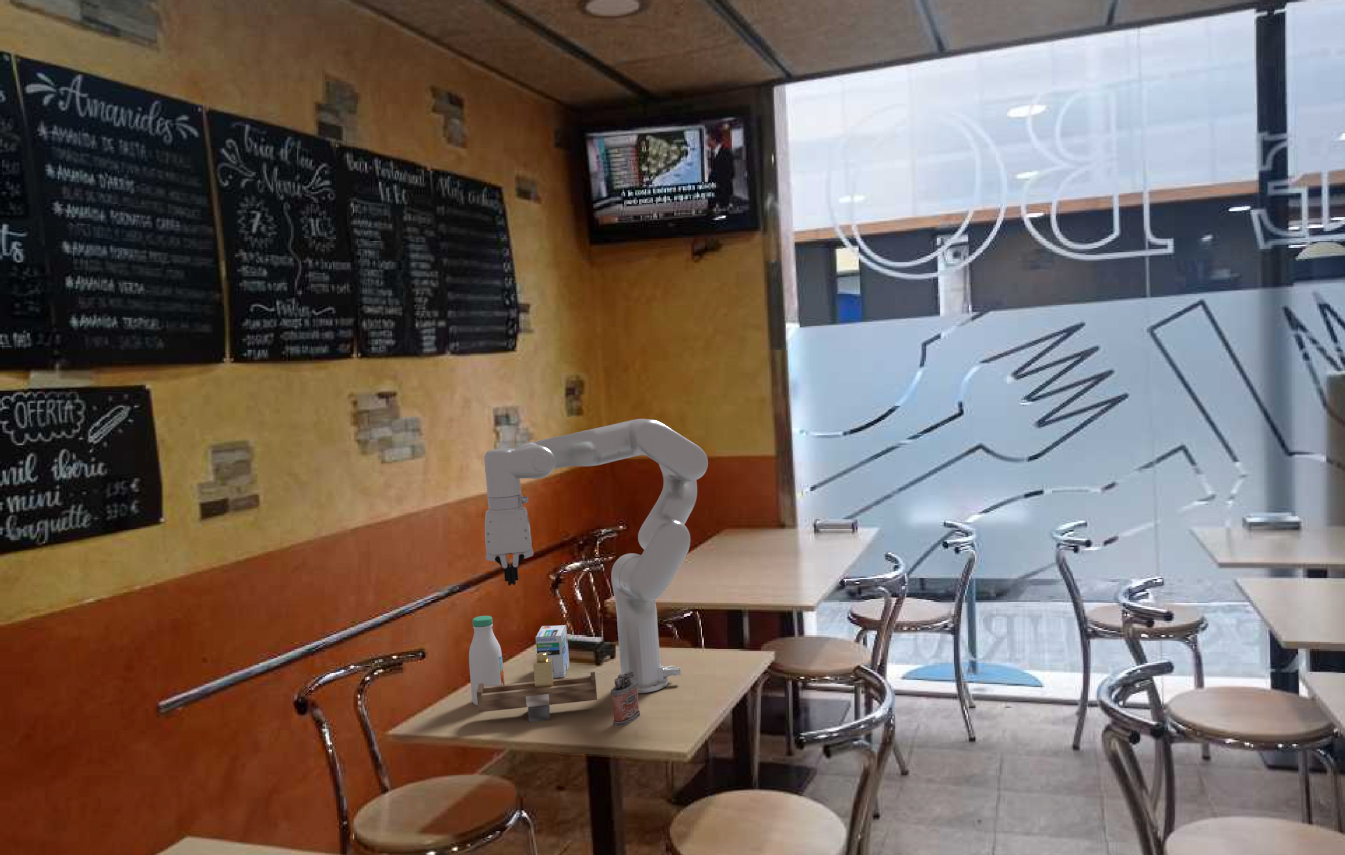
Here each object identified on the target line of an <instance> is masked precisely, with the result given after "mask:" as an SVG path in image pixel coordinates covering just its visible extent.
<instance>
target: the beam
mask: <svg viewBox="0 0 1345 855" xmlns="http://www.w3.org/2000/svg"><path fill="white" fill-rule="evenodd" d="M553 683H554V686H551V687H542V688H535V681H529V682H525V681H524V682H517V683H508V684H505V685H496V686H486V687H484V683H481V684H479V686H478V689H477V701H478V706H477V710H478V713H485V712H486V713H487V712H494V711H495V712H496V711H504V710H505V711H506V710H516V709H522V708H525V709H526V708H527V714H528V722H529V723H532V722H542V721H550V710H551V709H550V706H552V705H553V706H554V705H561V704H563V705H564V704H570V703H571V704H572V703H579V702H589V701H590V702H591V701H598V696H597V694H598V691H597V681H596V672H595V671H590V675H586V676H576V677H575V676H574V677H568V678H567V677H566V678H565V677H563V678H555V679H553Z"/></svg>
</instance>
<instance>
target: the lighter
mask: <svg viewBox="0 0 1345 855" xmlns="http://www.w3.org/2000/svg"><path fill="white" fill-rule="evenodd" d="M633 677H634V672H633V671H629V672H627V673H625V674H624V675H621V673H620V674H618V675H617V678H615V679H614V685H615V686H614V687H613V688H612V689H610V695H611V697H612V698H611V700H612V713H613V714H612V715H613V720H612V725H613V726H614V727H623V726H626V725H627V724H630V723H632V722H634V721H635V720H637V719H638V718H639V717H641V711H640V707H639V693H638V692H637V686H638V682H637V681H635V680H630V679H631V678H633Z"/></svg>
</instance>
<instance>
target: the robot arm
mask: <svg viewBox="0 0 1345 855" xmlns="http://www.w3.org/2000/svg"><path fill="white" fill-rule="evenodd" d="M638 456H646V457H648V458H650V459H651V460H653V461H654V462H656V463H657V464H658V465H659V466H658V467H659V468H660V471H661V474H662V478H663V479H662V480H663V486H662V490H661V493H660V495H659V496H658V499H657V501H656V502H655V504H654V505H653V507H652V509H651V510H650V512H649V514H648V515H647V517H646V518H645V520H644V521H643V523H642V525H641V527H640V529H639V531H638V534H637V541H638V543H639V546H640V548H642V549H643V552H642V554H638V553H634V552H633V553H626V554H623V555H621V556H619V558H618V559H617V560H616V561H615V562H614V563H613V565H612V568H611V572H610V575H611V577H610V579H611V580H610V581H611V585H612V590H613V596H614V597H613V598H614V603H615V610H616V611H615V612H616V618H617V619H616V622H617V633H618V634H617V636H618V650H619V664H620V674H621V675H624V674H625V673H627V672H629V671H633V672H634V677H633V678H631V679H630V680H635V681H637V682H638V686H637V692H638V694H646V693H652V692H656V691H659V690H661V689H664V688H666V687H667V686H668V684H669V677H671V676H673V677H675V676H676V677H677V676H681V675H682V674H681V667H680V666H678V667H675V665H669V666H665V665H663V664H662V662H661V656H660V642H659V626H658V610H657V605H656V604H657V603H656V600H657V599H658V598H659V597H661V596H663V595H662V594H664V592H665V591H666V590H667V588H668V587H669V586H670V583H671V582H672V580H673V579H674V577H675V575H676V573H677V572H678V571H679V569H680V567H681V566H682V564H683V561H684V560H685V559H686V556H687V555H688V553H689V550H690V545H691V534H690V533H691V532H690V531H689V529H688V527H687V526H686V525H685V524H686V523H687V520H688V518H689V517H690V514H691V513H692V512H693V509H694V508H695V505H696V502H697V498H698V483H697V480H699V479H701V478H703V476H704V475H705V474H706V472H707V471H708V470H707V469H708V466H709V465H708V464H709V460H708V456H707V454H706V452H705V451H704V450H703V448H702V447H701V446H699V445H697V444H696V443H695V442H692V441H691V440H689V439H688V438H686V437H685V436H683V435H681V434H680V433H679V432H677V431H675V430H674V429H672V428H670V427H669V426H667V425H666V424H665V423H662V422H661V421H659V420H656V419H650V418H649V419H647V418H637V419H631V420H627V421H623V422H618V423H613V424H609V425H605V426H600V427H595V428H591V429H585V430H582V431H577V432H574V433H570V434H563V435H560V436H553V437H548V438H545V439H539V440H534V441H531V442H527V443H524V444H522V445H520V446H519V447H517V448H516V449H514V448H510V447H509V448H508V447H507V448H505V447H504V448H495V449H494V448H493V449H490V450H487V451H486V452H485V454H484V457H483V459H484V471H485V472H484V473H485V483H486V493H487V494H486V496H487V504H488V506H487V507H488V510H485V516H484V544H485V551H486V553H485V561H490V562H496V563H498V564H499V566H501V567H502V568H503V574H504V582H507V585H508V586H509V587H510V586H511V585H513V586H516V584H517V581H519V568H518V567H519V565H520V564H521V563H522V561H523V560H524V559H528V558H530V557H533V556H534V549H533V547H532V544H533V543H532V542H533V541H532V532H531V525H530V519H529V514H528V510H527V507H525V506H523V505H524V504H525V503H529V497H528V496H524V495H523V494H522V487H521V484H522V483H521V479H535V480H536V479H544V478H546V477H548V476H549V475H551V473H552V472H553V471H554V470H556V469H561V468H567V467H568V468H569V467H594V466H595V467H596V466H601V465H604V464H609V463H613V462H617V461H620V460H625V459H629V458H633V457H638ZM507 555H512V563H511V565H510V563H509V561H508V557H507Z"/></svg>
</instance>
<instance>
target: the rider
mask: <svg viewBox="0 0 1345 855" xmlns="http://www.w3.org/2000/svg"><path fill="white" fill-rule="evenodd" d="M535 656H536V659H533V660H532V662H533V664H532V665H533V678H534V682H535V688H542V687H551V686H554V683H553V680H554V678H553V671H552V658H549V659H548V657H547V653H546V652H541V653H537V652H536V655H535Z"/></svg>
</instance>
